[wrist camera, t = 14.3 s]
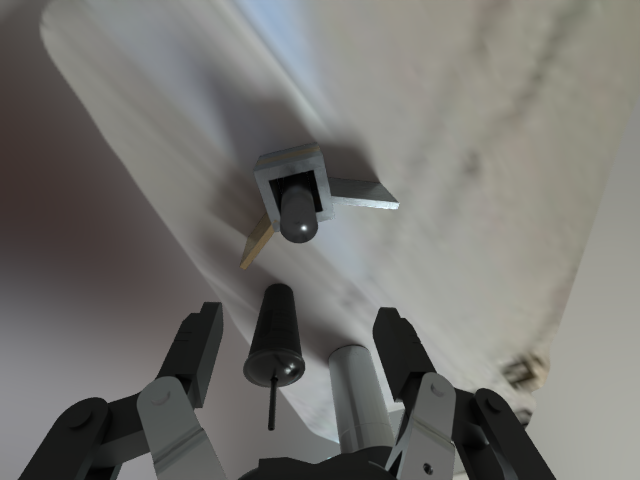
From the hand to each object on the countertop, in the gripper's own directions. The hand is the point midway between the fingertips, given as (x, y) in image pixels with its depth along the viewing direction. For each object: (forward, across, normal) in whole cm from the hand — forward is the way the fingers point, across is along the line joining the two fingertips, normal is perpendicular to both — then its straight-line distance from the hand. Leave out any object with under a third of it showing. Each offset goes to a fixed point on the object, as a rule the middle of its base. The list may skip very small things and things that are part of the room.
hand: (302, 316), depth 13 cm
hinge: (+24, -2, +2) cm, 24 cm away
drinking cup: (+24, +1, +20) cm, 32 cm away
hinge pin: (+24, 0, 0) cm, 24 cm away
